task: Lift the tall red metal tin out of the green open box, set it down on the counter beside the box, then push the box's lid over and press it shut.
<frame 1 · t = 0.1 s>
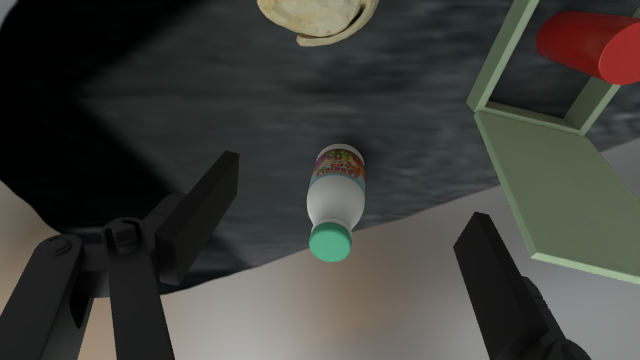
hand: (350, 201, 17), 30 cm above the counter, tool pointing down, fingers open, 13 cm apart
food model: (334, 0, 38), on the counter
milk bottle: (340, 162, 50), on the counter
lid: (565, 183, 30), point 16 cm above the counter, hinge at 100.0°
green open box: (556, 34, 37), on the counter
tin: (560, 35, 36), point 1 cm above the counter, touching green open box
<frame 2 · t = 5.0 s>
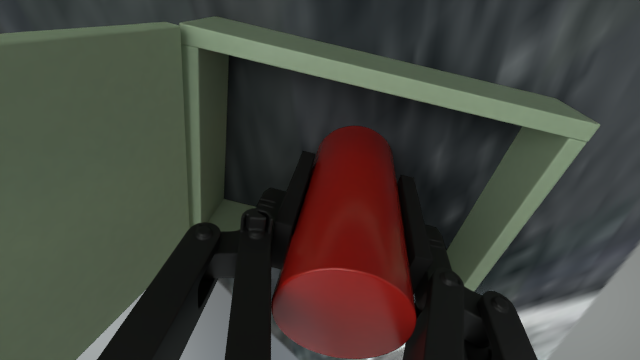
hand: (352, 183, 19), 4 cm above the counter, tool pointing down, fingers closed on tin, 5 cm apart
green open box: (354, 154, 22), on the counter
tin: (354, 161, 21), point 1 cm above the counter, touching green open box, gripper
when the fingers open (3 cm above the counter, at t = 12.6 s): tin stays where it is, on the counter.
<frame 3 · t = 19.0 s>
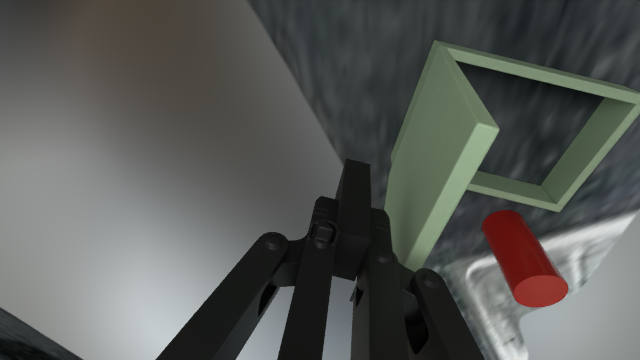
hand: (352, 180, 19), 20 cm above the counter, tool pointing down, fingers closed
lid: (414, 162, 23), point 16 cm above the counter, hinge at 97.5°, touching gripper
green open box: (491, 121, 36), on the counter
tin: (499, 220, 43), on the counter
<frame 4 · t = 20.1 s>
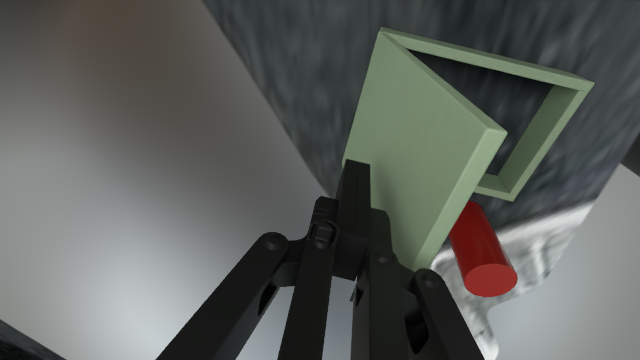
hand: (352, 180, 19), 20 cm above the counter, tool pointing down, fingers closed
lid: (379, 155, 22), point 16 cm above the counter, hinge at 81.7°, touching gripper
green open box: (445, 110, 36), on the counter
tin: (461, 211, 43), on the counter
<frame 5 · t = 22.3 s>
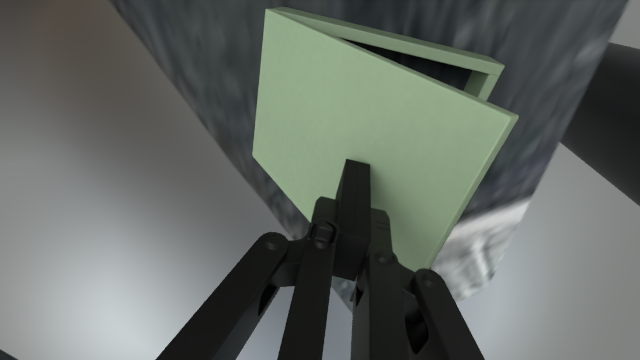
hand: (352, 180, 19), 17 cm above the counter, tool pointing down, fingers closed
lid: (326, 144, 22), point 13 cm above the counter, hinge at 46.8°, touching gripper
green open box: (365, 99, 33), on the counter
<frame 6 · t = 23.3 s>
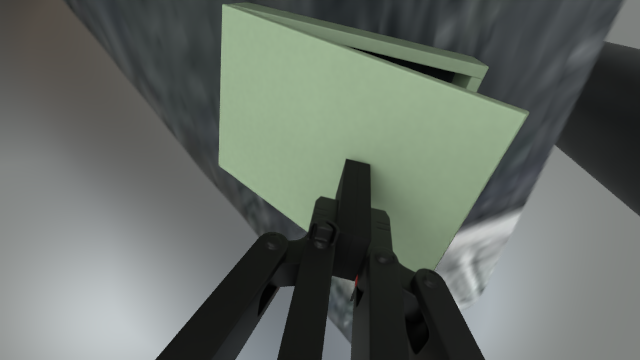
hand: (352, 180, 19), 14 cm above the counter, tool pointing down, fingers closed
lid: (315, 148, 21), point 11 cm above the counter, hinge at 31.7°, touching gripper
green open box: (341, 103, 31), on the counter
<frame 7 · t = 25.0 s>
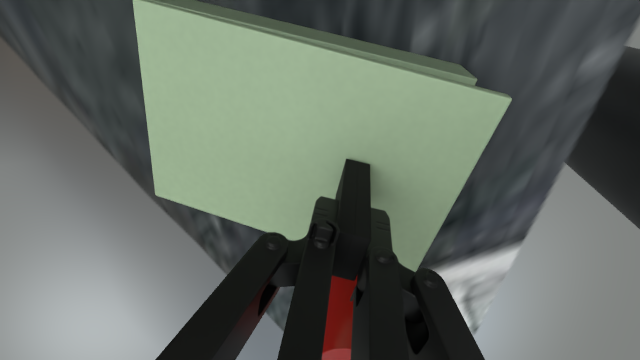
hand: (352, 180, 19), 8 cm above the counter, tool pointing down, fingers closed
lid: (293, 156, 20), point 6 cm above the counter, hinge at 6.0°, touching gripper
green open box: (304, 119, 25), on the counter
tin: (355, 250, 32), on the counter
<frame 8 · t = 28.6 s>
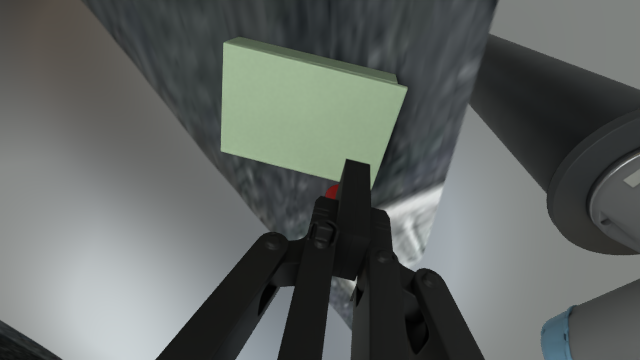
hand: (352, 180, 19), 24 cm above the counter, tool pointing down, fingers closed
lid: (304, 122, 37), point 6 cm above the counter, hinge at 1.5°
green open box: (308, 106, 42), on the counter
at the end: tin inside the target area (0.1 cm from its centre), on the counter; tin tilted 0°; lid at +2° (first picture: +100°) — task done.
